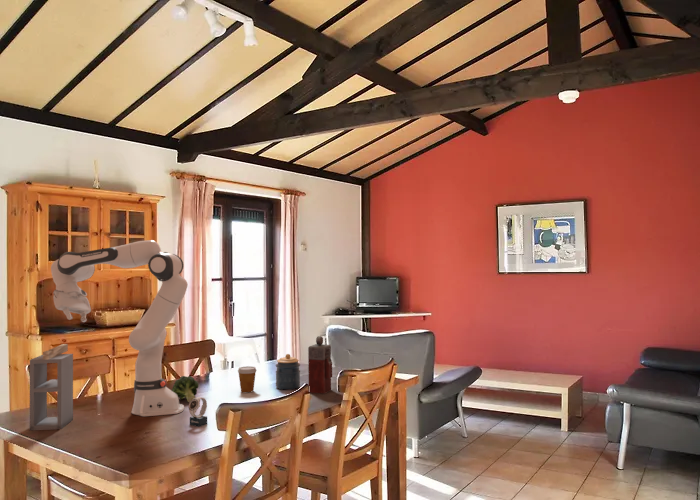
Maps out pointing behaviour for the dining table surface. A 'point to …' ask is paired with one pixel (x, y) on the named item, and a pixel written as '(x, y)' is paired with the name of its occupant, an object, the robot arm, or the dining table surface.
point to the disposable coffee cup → (247, 378)
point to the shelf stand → (59, 385)
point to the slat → (55, 351)
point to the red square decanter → (319, 367)
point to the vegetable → (185, 388)
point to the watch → (193, 406)
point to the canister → (287, 373)
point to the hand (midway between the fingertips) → (77, 320)
